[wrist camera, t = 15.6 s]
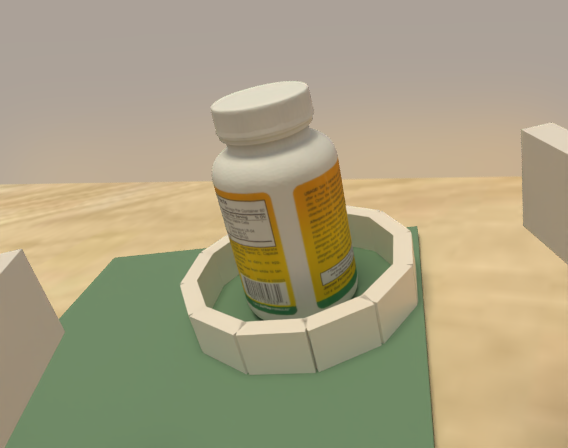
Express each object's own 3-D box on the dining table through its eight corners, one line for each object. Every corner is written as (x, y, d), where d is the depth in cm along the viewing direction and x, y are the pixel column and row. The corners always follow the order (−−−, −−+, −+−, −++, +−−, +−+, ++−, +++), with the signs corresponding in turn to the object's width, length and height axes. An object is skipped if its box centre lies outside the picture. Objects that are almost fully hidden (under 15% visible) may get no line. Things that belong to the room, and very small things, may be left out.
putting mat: (-64, 470, 20) (-71, 461, 20) (117, 264, 33) (114, 257, 33) (437, 486, 15) (436, 474, 15) (418, 234, 28) (417, 226, 27)
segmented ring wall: (160, 377, 21) (144, 340, 20) (231, 247, 30) (222, 217, 29) (422, 369, 18) (416, 326, 17) (413, 228, 27) (409, 195, 26)
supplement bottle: (250, 341, 22) (184, 127, 18) (248, 277, 27) (195, 97, 22) (372, 313, 22) (335, 91, 18) (348, 254, 26) (314, 69, 22)
